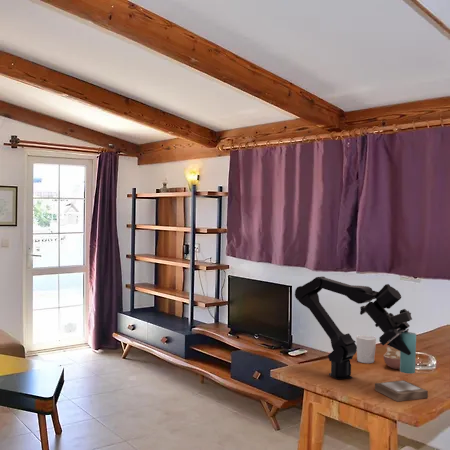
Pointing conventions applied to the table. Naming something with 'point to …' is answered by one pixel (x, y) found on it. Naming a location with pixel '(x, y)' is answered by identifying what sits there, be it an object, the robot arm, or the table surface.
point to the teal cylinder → (408, 360)
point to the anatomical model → (392, 357)
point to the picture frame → (401, 390)
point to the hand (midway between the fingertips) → (412, 352)
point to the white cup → (365, 348)
